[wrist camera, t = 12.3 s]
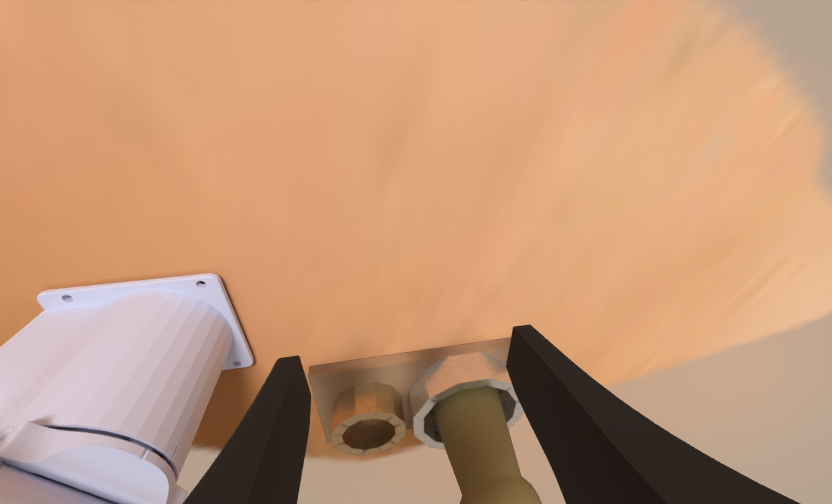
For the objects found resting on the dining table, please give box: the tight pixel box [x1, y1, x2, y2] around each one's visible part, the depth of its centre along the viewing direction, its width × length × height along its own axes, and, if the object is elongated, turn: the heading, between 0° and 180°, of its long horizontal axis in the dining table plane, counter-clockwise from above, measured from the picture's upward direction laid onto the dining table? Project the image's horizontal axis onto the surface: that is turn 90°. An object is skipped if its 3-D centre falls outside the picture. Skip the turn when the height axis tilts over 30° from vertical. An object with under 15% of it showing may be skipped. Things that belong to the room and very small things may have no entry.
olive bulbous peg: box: [431, 386, 542, 504], centre depth 23 cm, size 6×6×11 cm
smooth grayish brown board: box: [308, 338, 511, 443], centre depth 28 cm, size 17×9×1 cm, turn 92°
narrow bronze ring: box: [331, 382, 406, 455], centre depth 26 cm, size 6×6×2 cm
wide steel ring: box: [409, 352, 523, 449], centre depth 27 cm, size 9×9×2 cm
